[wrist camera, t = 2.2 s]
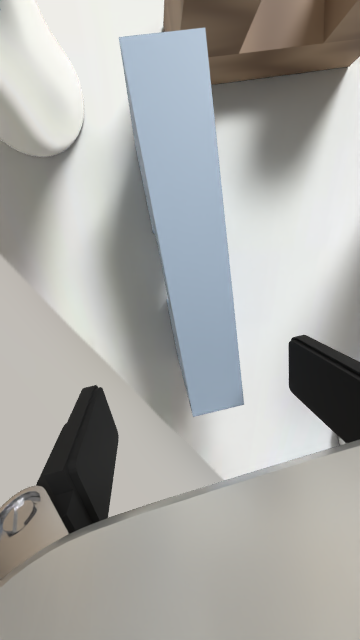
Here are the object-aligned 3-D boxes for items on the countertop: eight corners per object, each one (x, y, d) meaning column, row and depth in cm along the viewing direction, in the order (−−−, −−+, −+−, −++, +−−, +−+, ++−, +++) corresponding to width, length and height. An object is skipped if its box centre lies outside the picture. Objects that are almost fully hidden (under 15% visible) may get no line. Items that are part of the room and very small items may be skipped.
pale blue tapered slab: (211, 352, 19) (243, 404, 12) (178, 359, 19) (193, 416, 12) (179, 137, 14) (205, 27, 7) (135, 144, 14) (118, 37, 7)
